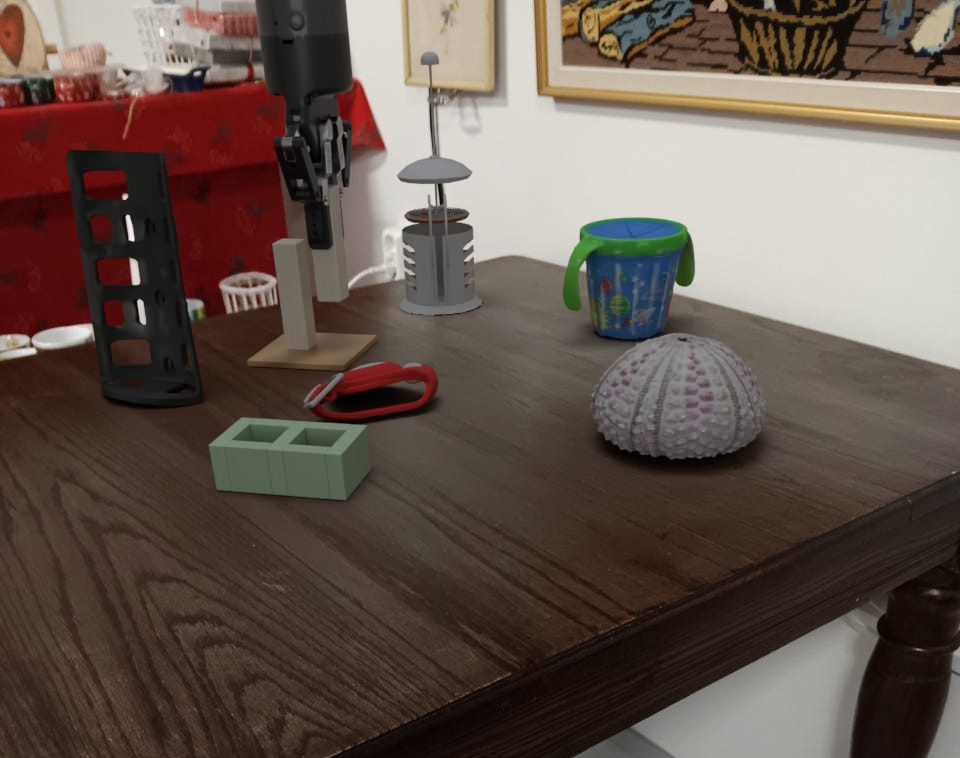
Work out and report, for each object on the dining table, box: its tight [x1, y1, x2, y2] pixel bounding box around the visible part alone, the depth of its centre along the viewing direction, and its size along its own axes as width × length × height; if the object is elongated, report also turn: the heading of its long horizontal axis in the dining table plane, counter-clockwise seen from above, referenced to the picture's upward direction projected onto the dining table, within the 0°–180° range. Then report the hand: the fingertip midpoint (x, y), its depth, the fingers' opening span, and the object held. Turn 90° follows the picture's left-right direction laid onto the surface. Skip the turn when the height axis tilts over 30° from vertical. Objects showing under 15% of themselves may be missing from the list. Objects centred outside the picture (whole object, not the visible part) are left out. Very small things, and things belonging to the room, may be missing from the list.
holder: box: [65, 149, 205, 407], centre depth 86 cm, size 11×8×20 cm
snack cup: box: [562, 216, 696, 340], centre depth 100 cm, size 16×10×10 cm
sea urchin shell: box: [589, 332, 768, 461], centre depth 76 cm, size 13×14×8 cm
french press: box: [396, 51, 483, 316], centre depth 106 cm, size 10×12×25 cm
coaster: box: [246, 332, 378, 372], centre depth 99 cm, size 10×10×1 cm
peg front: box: [311, 185, 350, 303], centre depth 93 cm, size 2×2×10 cm
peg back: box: [271, 238, 317, 350], centre depth 97 cm, size 2×2×10 cm
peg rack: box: [208, 416, 372, 501], centre depth 72 cm, size 10×6×4 cm, turn 77°
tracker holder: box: [303, 361, 439, 421], centre depth 84 cm, size 12×4×10 cm
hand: (326, 244), depth 93 cm, fingers closed on peg front, 2 cm apart
